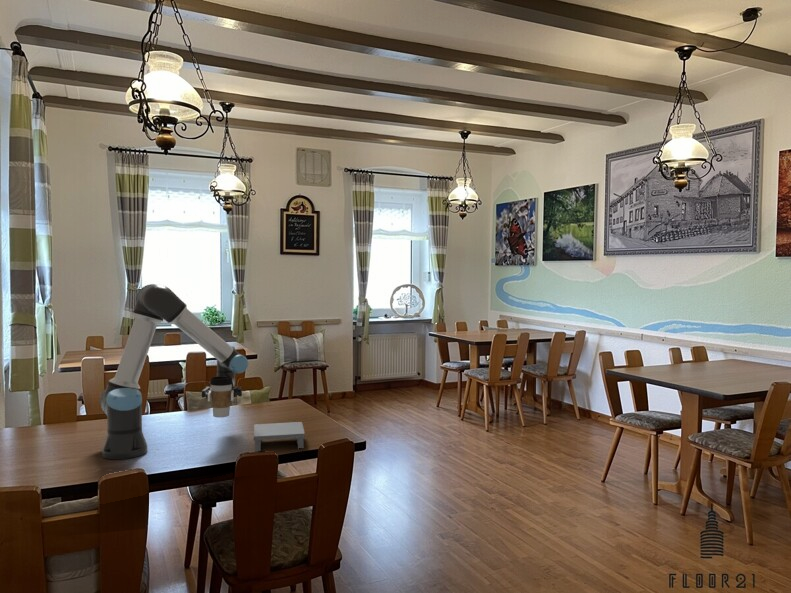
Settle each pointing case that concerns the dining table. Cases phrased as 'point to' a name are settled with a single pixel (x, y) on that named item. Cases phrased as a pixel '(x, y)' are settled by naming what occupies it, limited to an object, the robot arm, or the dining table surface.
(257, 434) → the bridge shelf
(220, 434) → the dining table surface
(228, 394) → the coffee cup
